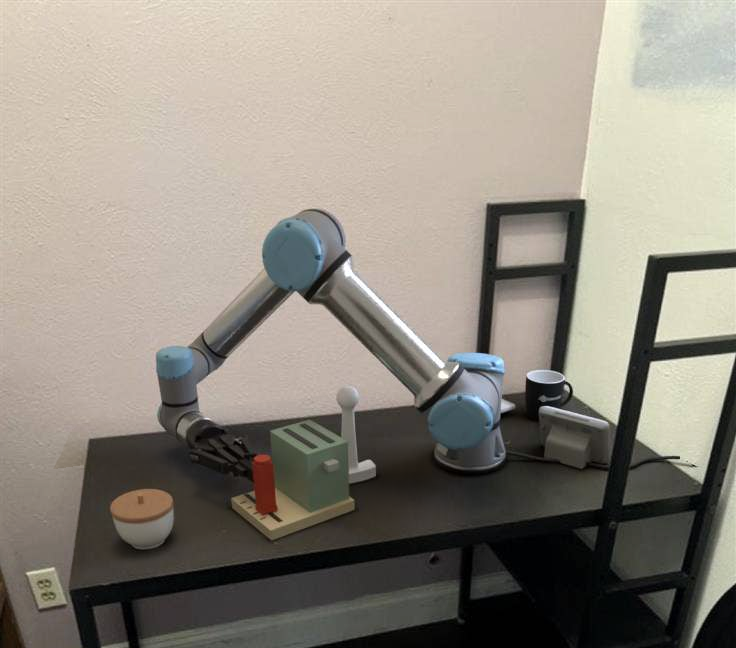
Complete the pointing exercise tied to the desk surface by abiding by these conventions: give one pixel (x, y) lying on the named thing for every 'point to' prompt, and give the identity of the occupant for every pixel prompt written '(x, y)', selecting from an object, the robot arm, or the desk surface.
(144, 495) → the trinket box
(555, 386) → the mug
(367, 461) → the joystick
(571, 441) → the digital clock
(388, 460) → the desk surface
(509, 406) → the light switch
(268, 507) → the slider
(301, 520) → the toaster
